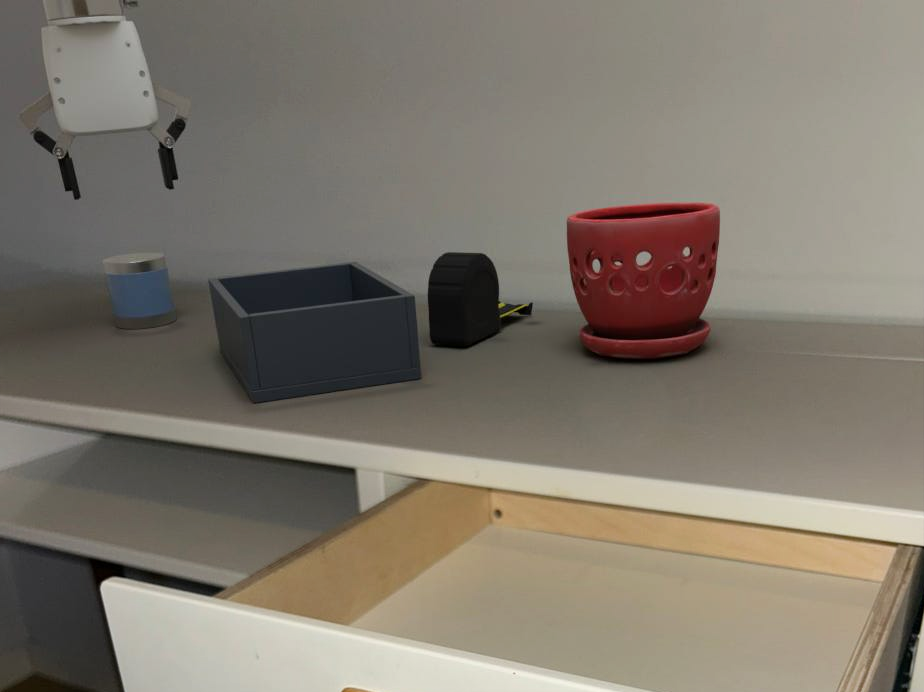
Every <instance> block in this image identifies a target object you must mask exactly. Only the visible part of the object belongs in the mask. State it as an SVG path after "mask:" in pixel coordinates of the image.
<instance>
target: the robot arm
mask: <svg viewBox="0 0 924 692" xmlns="http://www.w3.org/2000/svg"><path fill="white" fill-rule="evenodd" d="M42 4H43V7H44V12H45V17H46V20H47V26H42V27H41V29H40V30H41V45H42V54H43V62H44V67H45V72H46V78H47V83H48V89H49V91H48V92H46V93H45V94H43V95H42V96H41V97H39V98H38V99H36V100H35V101H33V102H32V103H31V104H30V105H28V106H27V107H25V108H24V109H23V110H21V111H20V112H18V114H17V119H18V121H19V122H20V123H21V125H22V126H23V127H24V129H25V130H26V131H27V132H28V134H29V136H31V137H32V139H33V140H34V142H35V143H37V144H38V145H39V146H40V147H42V148H43V149H45V150H46V151H47V152H48V153H50V154H51V155H52V156H54V157H55V158H56V159H57V163H58V167H59V171H60V176H61V179H62V180H61V181H62V183H63V187H64V192H72V196H73V199H74V201H77V200H80V199H81V198H82V196H81V191H80V188H79V183H78V178H77V175H76V170H75V166H74V165H75V164H74V161H73V157H70V153H69V149H70V147H71V145H72V144H73V141H74V140H75V137H86V136H98V135H109V134H121V133H131V132H140V131H148V132H149V134H151V135H152V136H153V137H154V138H155V139H156V140H157V141H158V148H157V154H158V158H159V164H160V169H161V174H162V179H163V185H164V187H165V188H166V189H168V190H169V191H171V190H175V186H174V181H178V180H179V175H178V169H177V163H176V158H175V154H174V146H175V144H176V142H177V141H178V140H179V138H180V137H181V135H182V134H183V132H184V131H185V129H186V125H187V122H188V119H189V116H190V112H191V108H192V101H191V99H190V98H188V97H185V96H183V95H181V94H180V93H179V94H178V93H177V92H174V91H172V90H170V89H167V88H165V87H163V86H160V85H158V84H156V83H154V82H152V78H151V74H150V70H149V66H148V62H147V59H146V56H145V52H144V50H143V47H142V42H141V39H140V36H139V32H138V30H137V27H136V26H135V23H134V21H133V20H127V18H126V12H128V10H130V9H132V8H137V7H139V3H138V0H42ZM157 100H160V101H161V102H164V103H166V104H169V105H171V106H173V107H174V110H175V113H174V116H173V120H172V122H171V123H170V125H169V126H168V128H167V129H166V130H165V129H164V128H163V127H162V125H160V124H159V123H158V122H159V111H158V105H157ZM51 108H52V109H53V112H54V116H55V120H56V123H57V125H58V127H59V129H60V131H61V132H60V134H59V136H58V137H57V139H56V140H54V138H52V137H50V136H49V135H48V133H45V132H44V130H43V129H42V128H41V126H40V125H39V124H38V121H37V119H38V118H39V117H40V116H42V115H43V114H45V113H46V112H47V111H48V110H50V109H51Z"/></svg>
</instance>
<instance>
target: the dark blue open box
mask: <svg viewBox="0 0 924 692" xmlns="http://www.w3.org/2000/svg"><path fill="white" fill-rule="evenodd" d="M207 281H208V287H209V293H210V299H211V304H212V305H211V306H212V311H213V317H214V322H215V329H216V334H217V339H218V346H219V352H220V353H221V355H222V356H223V358H224V359H225V361H226V363H227V364H228V366H229V368H230V369H231V370H232V372H233V374H234V375H235V376H236V379H237V380H238V381H239V383H240V385H241V387H243V389H244V391H245V393H246V394H247V396H248V397H249V399H250V400H251V402H252V404H258V403H265V402H272V401H278V400H285V399H292V398H298V397H299V398H300V397H305V396H306V397H307V396H312V395H319V394H326V393H332V392H333V393H334V392H339V391H346V390H353V389H360V388H367V387H374V386H379V385H380V386H381V385H387V384H394V383H400V382H407V381H414V380H415V381H416V380H421V379H422V369H421V357H420V345H419V344H420V343H419V332H418V320H417V308H416V296H415V295H414V294H413V293H411V292H409V291H408V290H406V289H405V288H402V287H400V286H399V285H397V284H395V283H393V282H392V281H390V280H388V279H386V278H385V277H383V276H381V275H380V274H378V273H376V272H374V271H373V270H371V269H369V268H368V267H366V266H364V265H362V264H361V263H359V262H357V261H350V262H341V263H332V264H323V265H314V266H306V267H298V268H287V269H279V270H270V271H262V272H254V273H253V272H251V273H244V274H235V275H228V276H217V277H210V278H207Z"/></svg>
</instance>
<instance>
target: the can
mask: <svg viewBox="0 0 924 692" xmlns="http://www.w3.org/2000/svg"><path fill="white" fill-rule="evenodd" d="M102 266H103V270H104V276H105V282H106V287H107V291H108V295H109V300H110V306H111V310H112V314H113V318H114V322H115V325H116V327H117V328H119V329H124V330H141V329H150V328H151V329H152V328H158V327H162V326H166V325H169V324H172V323H174V322H176V321H177V315H176V310H175V309H176V307H175V302H174V296H173V290H172V285H171V280H170V275H169V270H168V265H167V261H166V256H165V254H164V253H162V252H136V253H135V252H134V253H127V254H118V255H114V256H110V257H107V258H104V259H102Z"/></svg>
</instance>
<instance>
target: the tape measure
mask: <svg viewBox="0 0 924 692" xmlns="http://www.w3.org/2000/svg"><path fill="white" fill-rule="evenodd" d="M427 284H428V285H427V307H428V308H427V309H428V326H429V328H428V329H429V340H430V342H431V344H432V345H444V346H456V347H457V346H459V347H460V346H461V347H469V346H471V345H473V344H474V343H477V342H478V341H480V340H483V339H484V338H487V337H491V336H494V335H496V334H498V333H499V332H500V331H501V327H502V324H501V323H502V322H501V318H503V317H506V316H507V315H512V314H513V313H516V314H517V313H518V314H519V315H520V316H532V312H533V306H534V303H533V302H529V304H527V303H525V304H523V303H518V304H512V303H506V302H505V303H504V302H501V301H500V282H499V277H498V272H497V268H496V267H495V264H494V262H493V260H492V259H491V258H490V257H489V256H488V255H487V254H485V253H482V252H460V251H459V252H458V251H457V252H455V251H448V252H444V253H443V254H441V255H439V257H438V258H437V259H436V260H435V261H434V264H433V265H432V269H431V270H430V273H429V276H428V281H427Z"/></svg>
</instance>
